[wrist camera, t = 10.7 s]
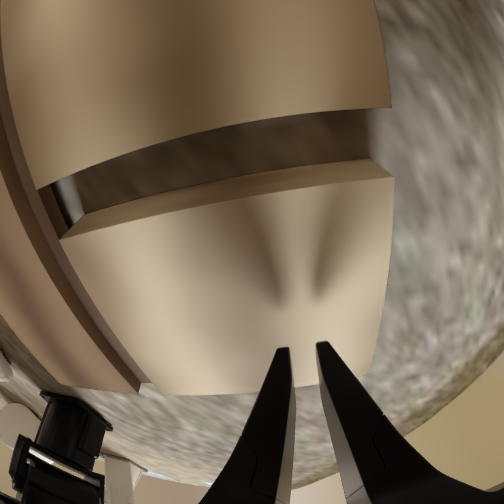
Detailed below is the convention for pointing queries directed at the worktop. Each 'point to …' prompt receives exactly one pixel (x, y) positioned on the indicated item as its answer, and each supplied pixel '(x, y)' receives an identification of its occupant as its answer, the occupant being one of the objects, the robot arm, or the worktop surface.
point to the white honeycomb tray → (5, 369)
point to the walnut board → (50, 280)
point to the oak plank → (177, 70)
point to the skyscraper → (120, 479)
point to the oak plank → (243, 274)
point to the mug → (19, 426)
